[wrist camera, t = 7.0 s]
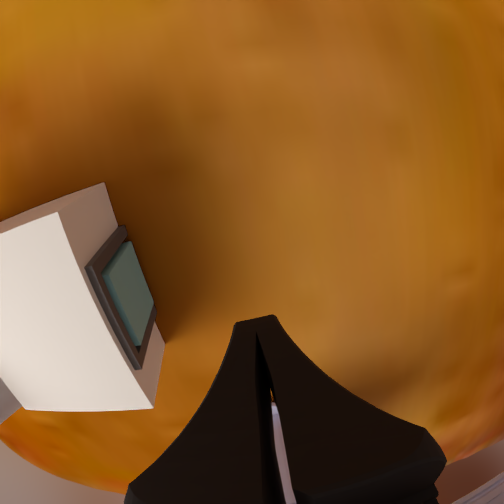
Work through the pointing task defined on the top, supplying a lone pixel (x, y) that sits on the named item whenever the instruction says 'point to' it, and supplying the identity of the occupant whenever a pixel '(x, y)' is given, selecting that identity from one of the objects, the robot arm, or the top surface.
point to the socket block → (70, 311)
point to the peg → (129, 291)
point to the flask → (7, 402)
